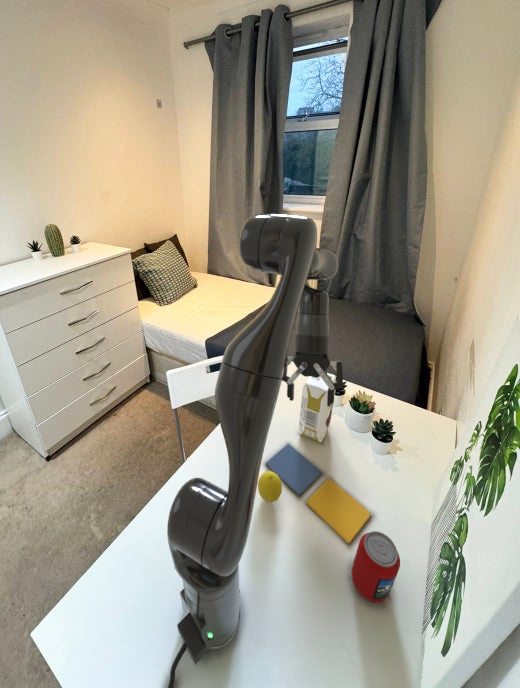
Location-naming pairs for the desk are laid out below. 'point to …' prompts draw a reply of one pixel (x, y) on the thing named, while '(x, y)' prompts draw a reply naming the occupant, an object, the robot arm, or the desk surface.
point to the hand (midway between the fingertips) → (310, 402)
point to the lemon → (269, 486)
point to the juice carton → (315, 408)
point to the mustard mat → (339, 510)
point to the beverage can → (375, 566)
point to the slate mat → (293, 469)
